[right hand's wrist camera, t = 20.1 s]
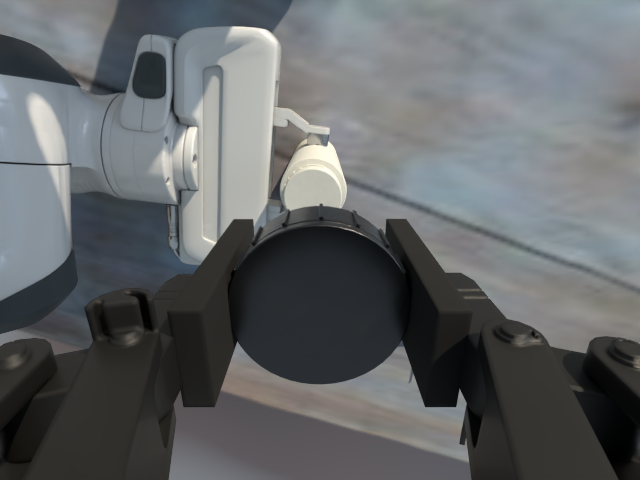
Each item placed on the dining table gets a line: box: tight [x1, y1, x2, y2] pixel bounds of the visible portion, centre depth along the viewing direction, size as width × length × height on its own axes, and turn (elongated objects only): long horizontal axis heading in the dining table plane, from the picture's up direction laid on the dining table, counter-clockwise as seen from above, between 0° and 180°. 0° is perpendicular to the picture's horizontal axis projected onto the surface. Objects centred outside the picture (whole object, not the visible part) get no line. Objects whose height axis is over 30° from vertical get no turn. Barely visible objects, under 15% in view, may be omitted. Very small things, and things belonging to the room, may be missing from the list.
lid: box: [228, 204, 411, 384], centre depth 11 cm, size 5×5×2 cm
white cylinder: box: [280, 139, 347, 211], centre depth 30 cm, size 4×4×16 cm
